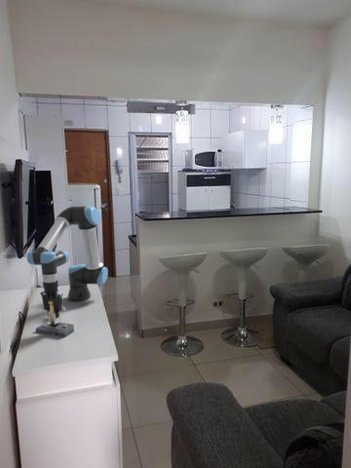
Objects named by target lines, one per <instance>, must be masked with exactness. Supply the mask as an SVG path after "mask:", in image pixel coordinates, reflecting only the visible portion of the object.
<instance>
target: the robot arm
mask: <svg viewBox="0 0 351 468" xmlns="http://www.w3.org/2000/svg"><path fill="white" fill-rule="evenodd" d="M99 222H100V213H99V211H98V210H97V208H96V207H94V206H89V205H83V206H81V205H80V206H70V207H67V208H65V209H64V210H62V211H61V212H59V214H58V215H57V216H56V217H55V219H54V223H53V225H52V226H51V227H50V229H49V231H48V232H47V233H46V235H45V237H44V238H43V239H42V241H41V242H40V244H39V245H38V246H37V248H36V249H35V250H32V251H29V252H28V253H27V255H26V260H27V263H28V264H30V265H33V266H34V265H35V266H41V276H42V286H43V287H42V288H43V291H40V295H41V300H42V304H43V306H42V307H43V310H44V311H47V316H48V321H49V323H48V324H50V323H51V315H50V305H49V304H48V301H51V300H52V302H53V307H54V313H53V314H54V324H57V323H59V322H60V320H59V319H60V312H61V310H62V308H63V307H62V305H63V293H60V292H59V289H58V288H59V281H58V279H59V277H58V267H61V266H62V265H63V266H64V265H65V264H66V263H68V261H70V255H69V252H67V251H66V250H63V249H62V250H58V251H53V250H54V248H55V246H56V245H57V243H58V242H59V240H60V238H61V237H62V236H63V234H64V232H65V231H66V230H68V229H69V228H70V227H71V226H72V225H73V226H74V225H75V226H78V230H80V231H81V235H82V241H83V247H84V252H85V258H86V263H87V264H86V263H78V264H73V265H71V266H70V267H68V282H69V290H68V295H67V300H68V301H70V302H81V301H86V300H88V299H90V298H91V292H90V289H89V286H88V285H104V284H105V283H106V281H107V279H108V277H109V270H108V267H106V266H104V263H103V262H102V261H101V257H100V250H99V249H100V248H99V245H98V244H99V243H98V238H97V232H96V228H97V227H98V224H99Z"/></svg>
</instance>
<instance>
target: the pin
mask: <svg viewBox="0 0 351 468" xmlns="http://www.w3.org/2000/svg"><path fill="white" fill-rule="evenodd" d="M48 304H49V305H50V315H51V326H53V327H55V326H57V324H54V314H53V313H54V307H53V302H52V300H51V301H48Z"/></svg>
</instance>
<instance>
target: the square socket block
mask: <svg viewBox="0 0 351 468" xmlns="http://www.w3.org/2000/svg"><path fill="white" fill-rule="evenodd" d="M74 326H75V325H74V324H71V323H66V322H62V321H61V322H60V321H59V323H57V326H55V327H53V326H51V323H46V322H44V323H43V324H41V325H39V326H37V327H36V328H35V332H37V333H42V334H47V335H52V336H57V337H63V338H67V337H68V336H70V335H71V334H73V333H74V332H75V327H74Z"/></svg>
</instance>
